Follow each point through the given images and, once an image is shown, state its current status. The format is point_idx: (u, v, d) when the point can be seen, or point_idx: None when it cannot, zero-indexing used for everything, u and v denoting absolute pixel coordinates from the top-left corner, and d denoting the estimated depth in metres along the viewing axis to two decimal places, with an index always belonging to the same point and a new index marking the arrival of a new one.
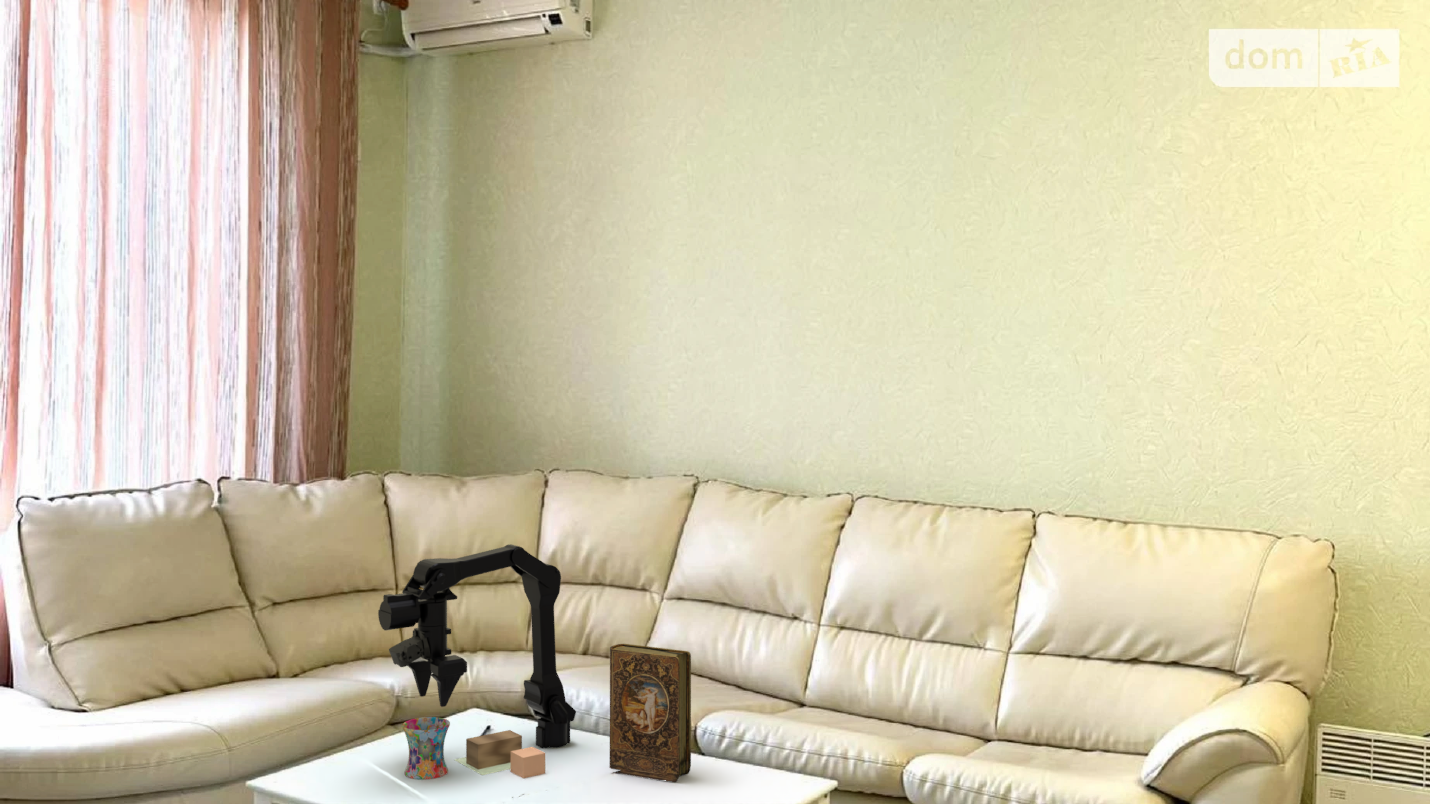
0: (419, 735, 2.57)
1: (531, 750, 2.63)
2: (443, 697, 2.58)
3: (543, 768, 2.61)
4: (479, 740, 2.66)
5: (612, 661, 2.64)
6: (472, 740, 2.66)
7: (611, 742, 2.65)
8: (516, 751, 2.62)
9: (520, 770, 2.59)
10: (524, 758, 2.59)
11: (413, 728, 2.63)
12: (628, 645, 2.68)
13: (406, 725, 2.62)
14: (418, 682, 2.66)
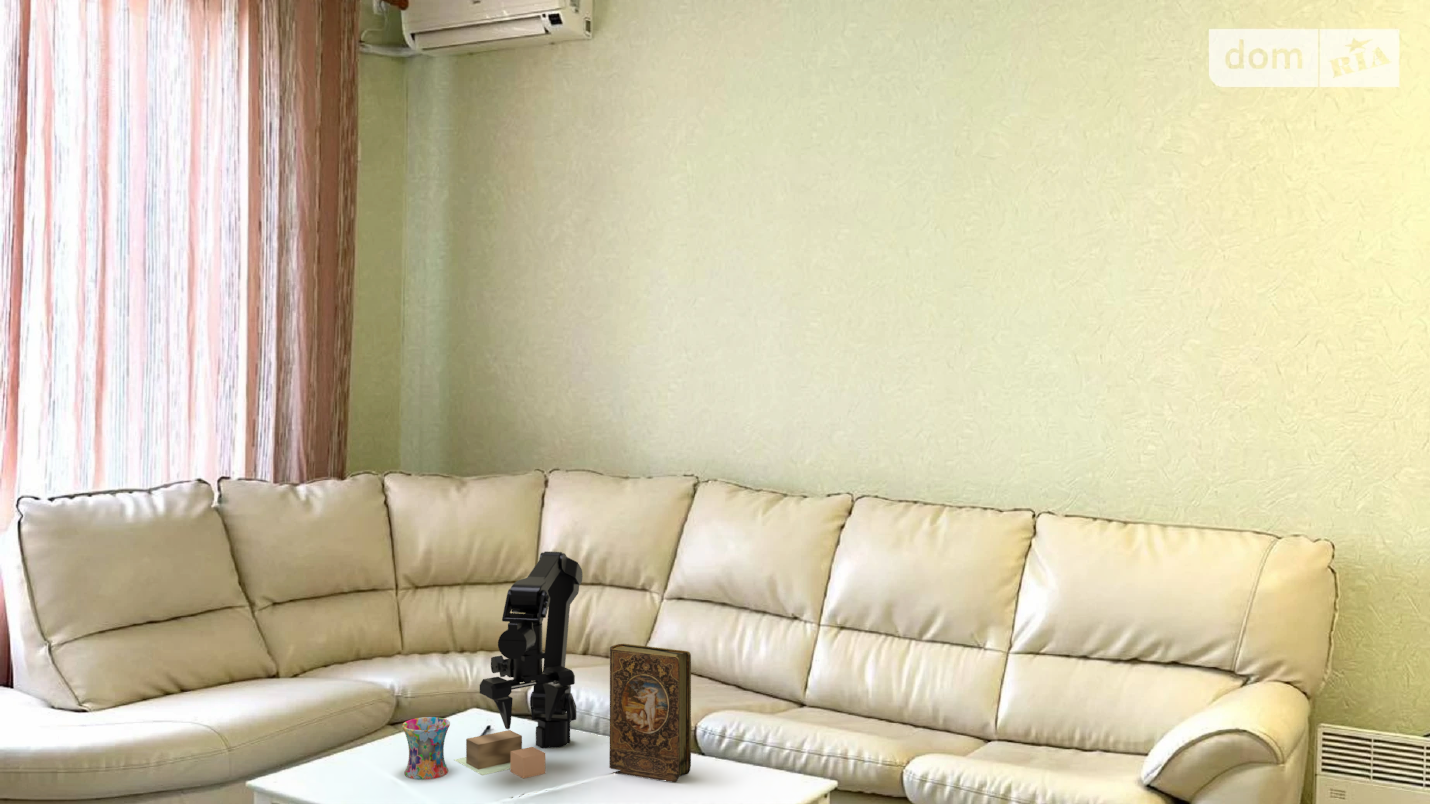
0: (419, 735, 2.57)
1: (531, 750, 2.63)
2: (504, 719, 2.59)
3: (543, 768, 2.61)
4: (479, 740, 2.66)
5: (612, 661, 2.64)
6: (472, 740, 2.66)
7: (611, 742, 2.65)
8: (516, 751, 2.62)
9: (520, 770, 2.59)
10: (524, 758, 2.59)
11: (413, 728, 2.63)
12: (628, 646, 2.68)
13: (406, 725, 2.62)
14: (545, 705, 2.65)
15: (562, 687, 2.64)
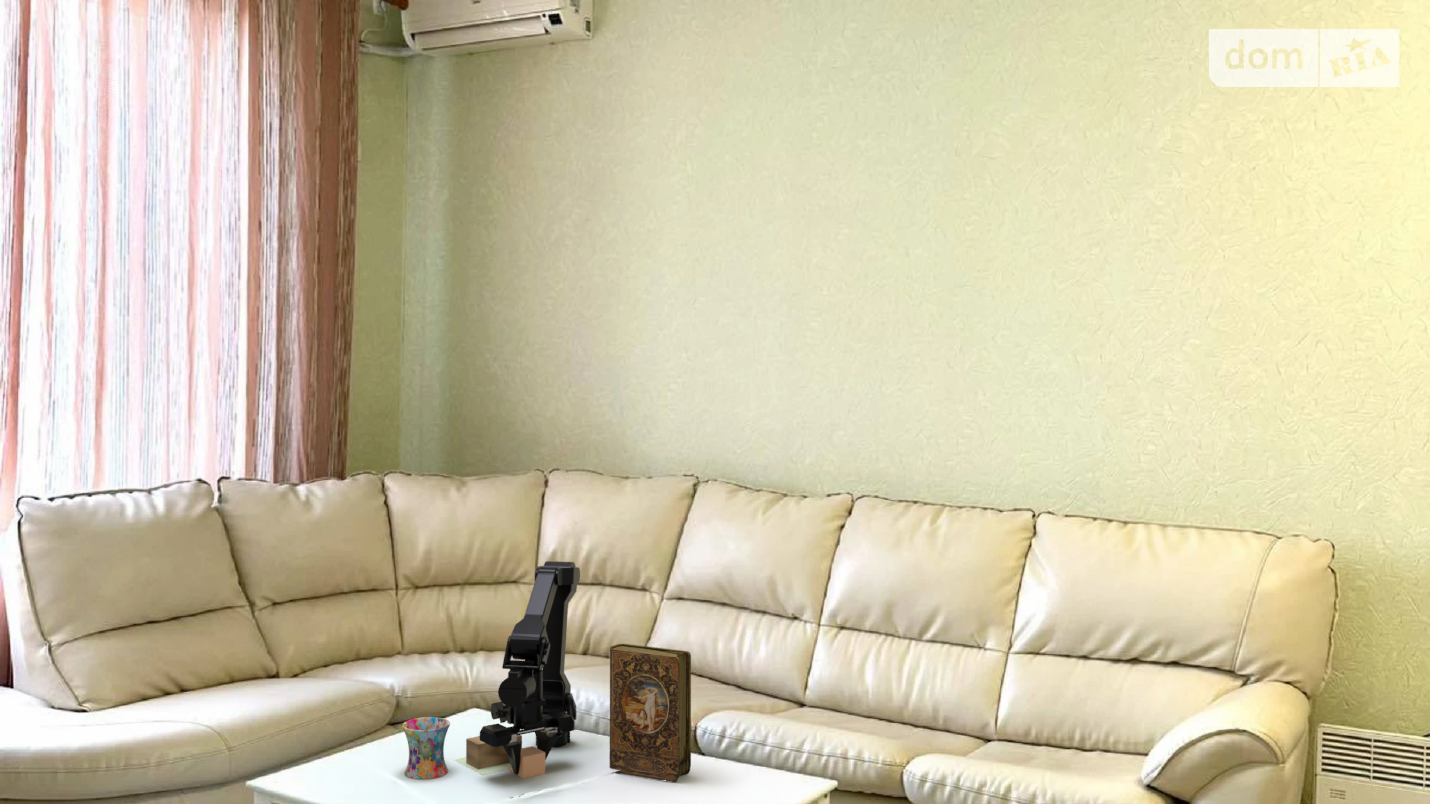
0: (419, 735, 2.57)
1: (531, 749, 2.63)
2: (513, 764, 2.60)
3: (543, 767, 2.61)
4: (479, 740, 2.66)
5: (612, 661, 2.64)
6: (472, 740, 2.66)
7: (611, 742, 2.65)
8: None
9: (520, 769, 2.59)
10: (524, 758, 2.59)
11: (413, 728, 2.63)
12: (628, 645, 2.68)
13: (406, 725, 2.62)
14: None
15: (554, 735, 2.63)
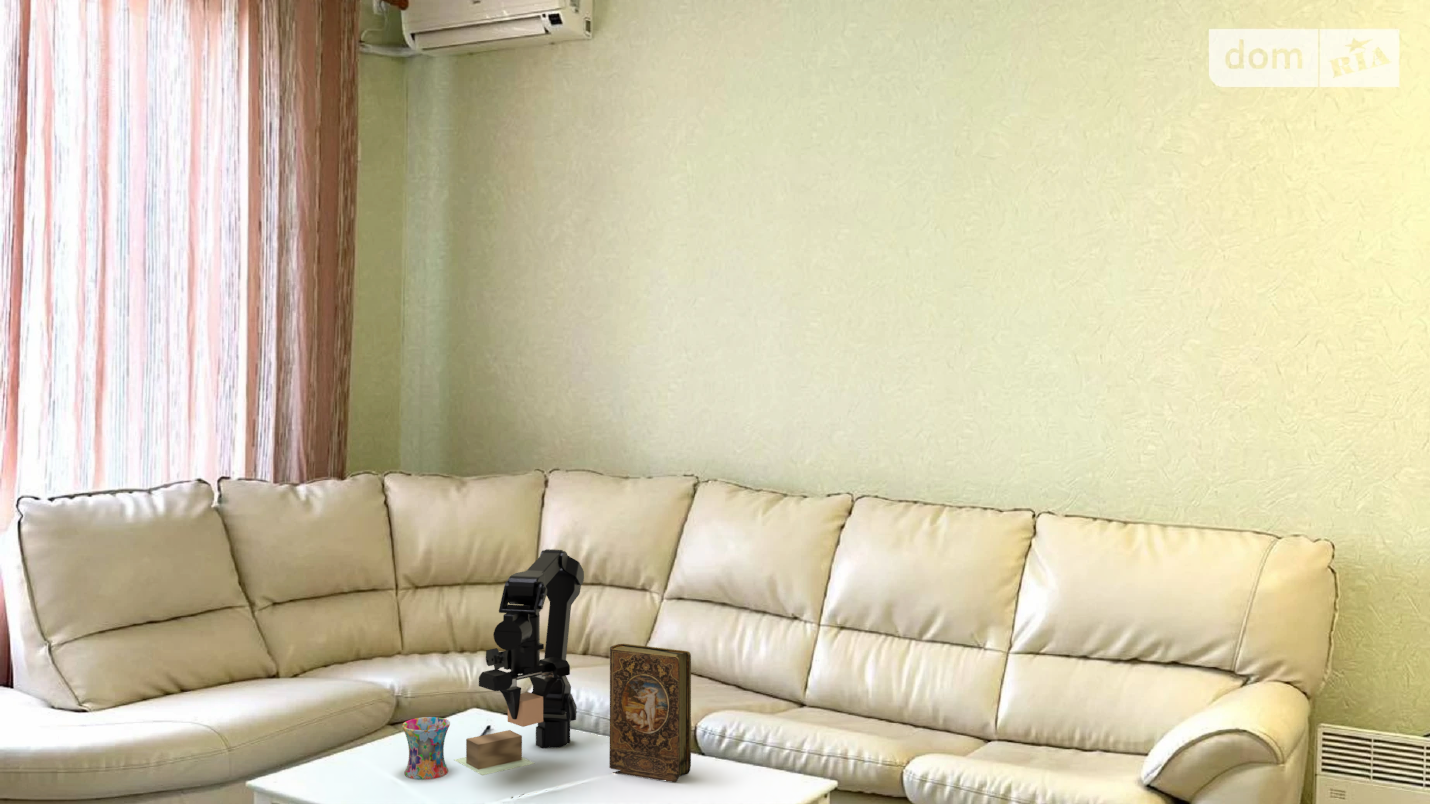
0: (419, 735, 2.57)
1: (527, 694, 2.63)
2: (511, 709, 2.60)
3: (541, 712, 2.62)
4: (479, 740, 2.66)
5: (612, 661, 2.64)
6: (472, 740, 2.66)
7: (611, 742, 2.65)
8: None
9: (519, 714, 2.59)
10: (523, 702, 2.59)
11: (413, 728, 2.63)
12: (628, 645, 2.68)
13: (406, 725, 2.62)
14: None
15: (551, 679, 2.63)
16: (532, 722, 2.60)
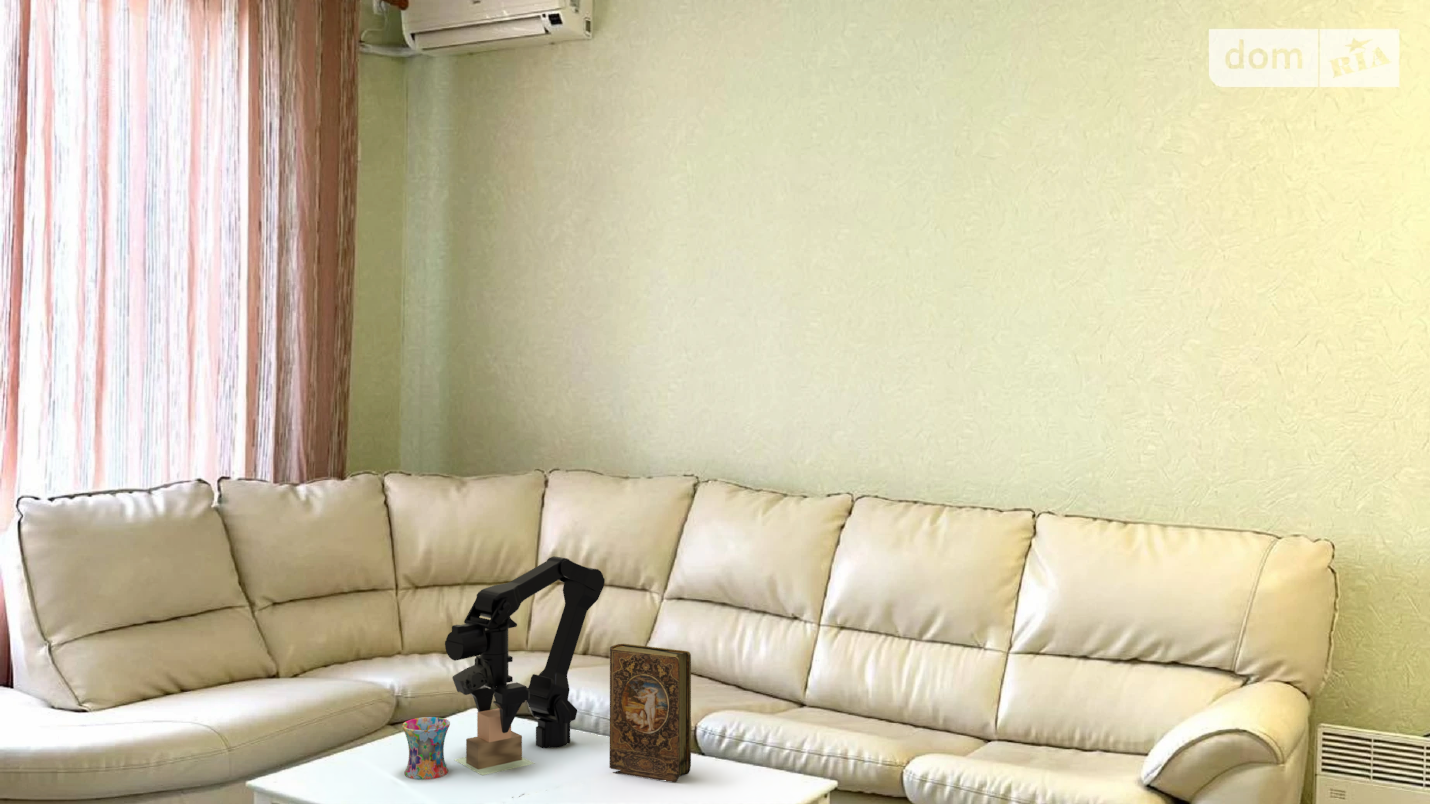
0: (419, 735, 2.57)
1: (488, 712, 2.69)
2: (505, 724, 2.64)
3: None
4: (479, 740, 2.66)
5: (612, 661, 2.64)
6: (472, 740, 2.66)
7: (611, 742, 2.65)
8: (490, 716, 2.66)
9: None
10: None
11: (413, 728, 2.63)
12: (628, 645, 2.68)
13: (406, 725, 2.62)
14: (480, 709, 2.71)
15: None
16: None
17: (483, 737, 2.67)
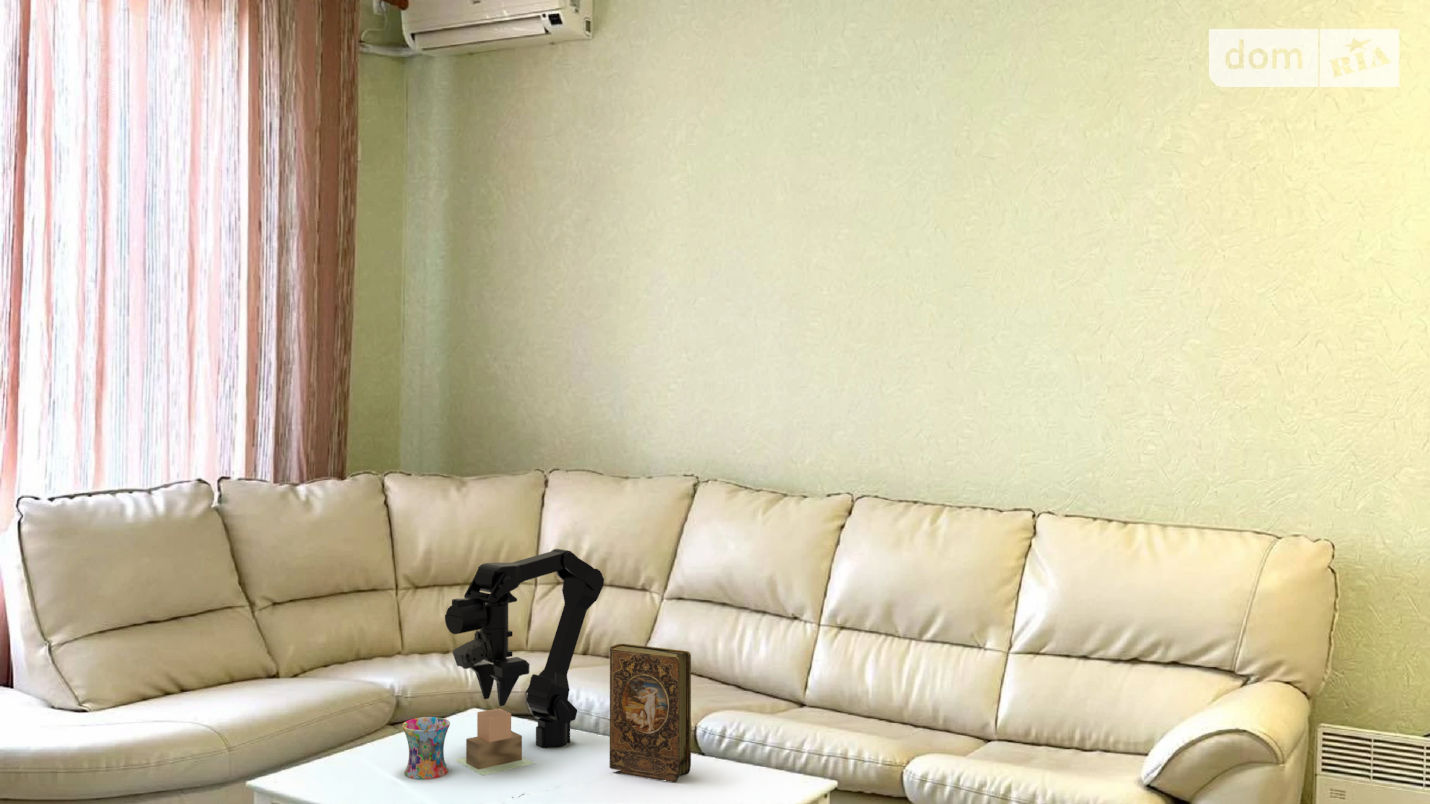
0: (419, 735, 2.57)
1: (488, 712, 2.69)
2: (502, 697, 2.65)
3: None
4: (479, 740, 2.66)
5: (612, 661, 2.64)
6: (472, 740, 2.66)
7: (611, 742, 2.65)
8: (490, 716, 2.66)
9: (506, 728, 2.67)
10: None
11: (413, 728, 2.63)
12: (628, 645, 2.68)
13: (406, 725, 2.62)
14: (482, 685, 2.70)
15: None
16: None
17: (483, 737, 2.67)
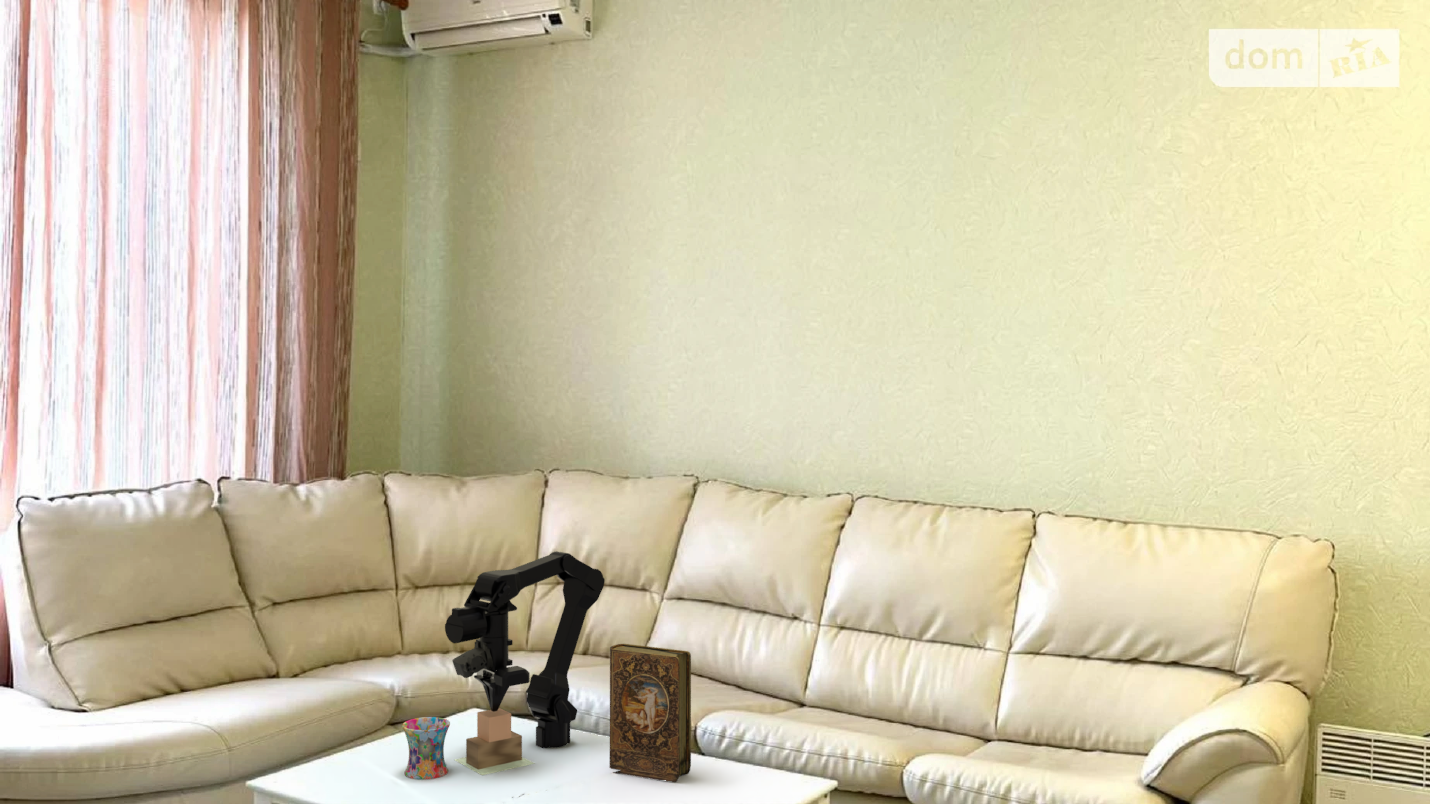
0: (419, 735, 2.57)
1: (488, 712, 2.69)
2: (495, 702, 2.67)
3: None
4: (479, 740, 2.66)
5: (612, 661, 2.64)
6: (472, 740, 2.66)
7: (611, 742, 2.65)
8: (490, 716, 2.66)
9: (506, 728, 2.67)
10: None
11: (413, 728, 2.63)
12: (628, 645, 2.68)
13: (406, 725, 2.62)
14: (489, 697, 2.68)
15: None
16: None
17: (483, 737, 2.67)
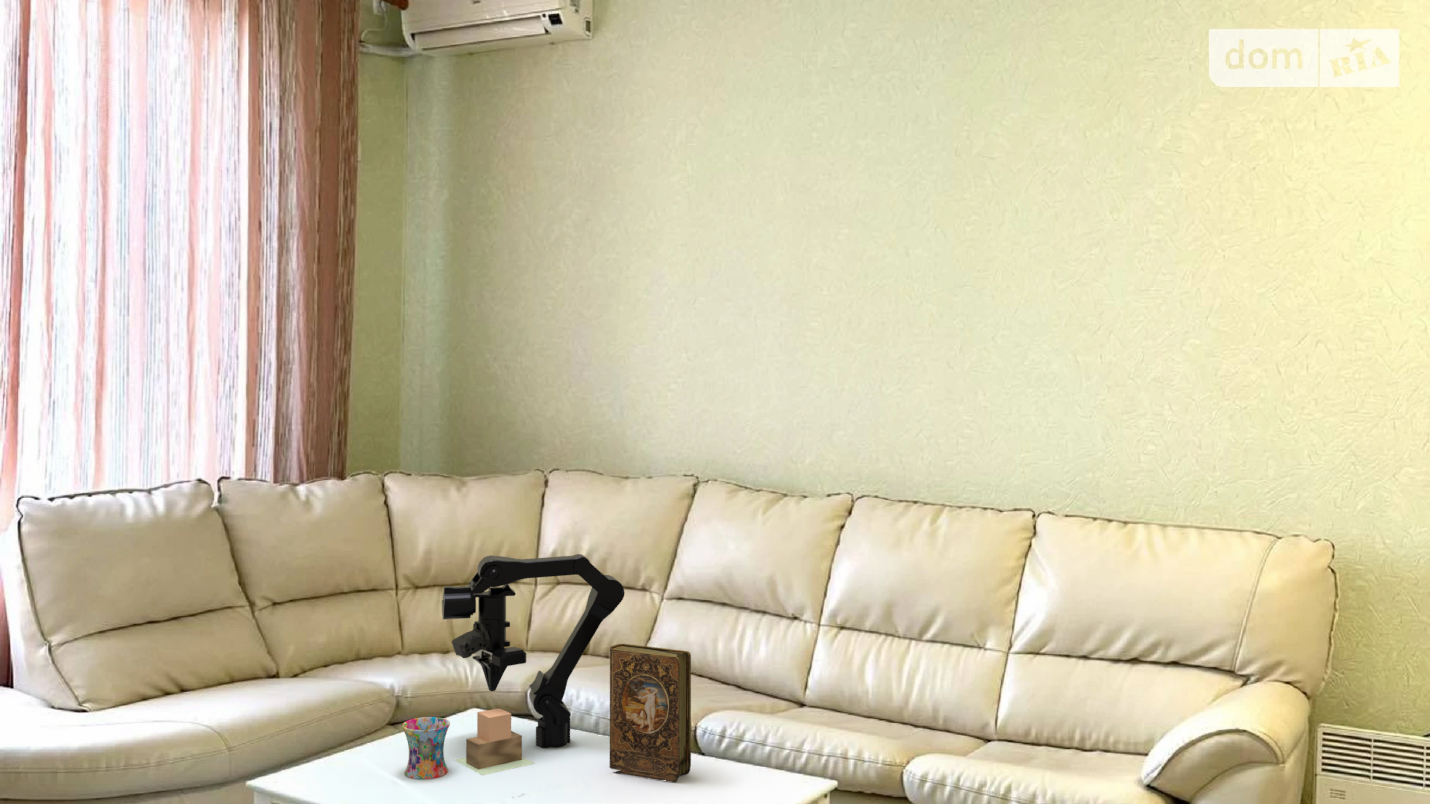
0: (419, 735, 2.57)
1: (488, 712, 2.69)
2: (493, 682, 2.76)
3: None
4: (479, 740, 2.66)
5: (612, 661, 2.64)
6: (472, 740, 2.66)
7: (611, 742, 2.65)
8: (490, 716, 2.66)
9: (506, 728, 2.67)
10: None
11: (413, 728, 2.63)
12: (628, 646, 2.68)
13: (406, 725, 2.62)
14: (487, 677, 2.76)
15: None
16: None
17: (483, 737, 2.67)
